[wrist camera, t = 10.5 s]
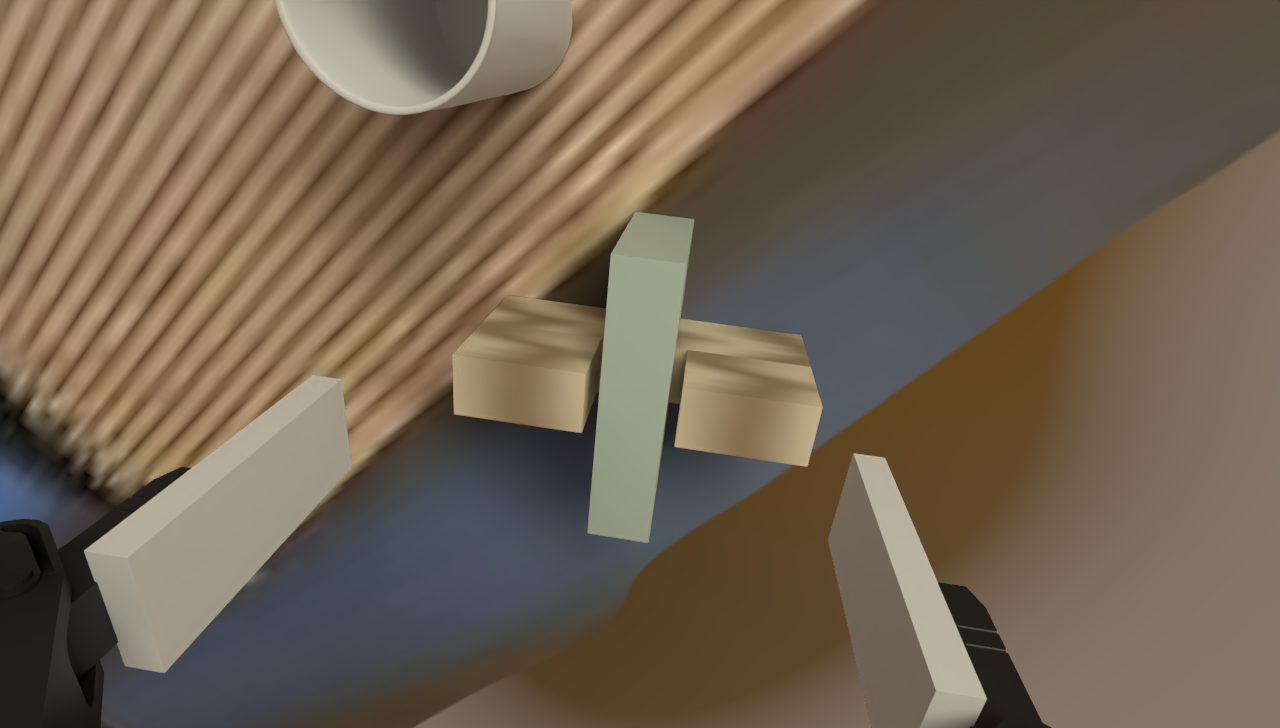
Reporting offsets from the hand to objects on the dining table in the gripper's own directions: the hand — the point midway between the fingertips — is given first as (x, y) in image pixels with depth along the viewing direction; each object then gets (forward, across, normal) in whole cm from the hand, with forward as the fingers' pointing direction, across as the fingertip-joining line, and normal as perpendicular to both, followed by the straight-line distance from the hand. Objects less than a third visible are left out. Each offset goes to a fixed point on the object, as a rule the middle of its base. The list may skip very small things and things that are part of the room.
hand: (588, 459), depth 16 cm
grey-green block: (+19, 0, -5) cm, 19 cm away
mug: (+19, -7, +12) cm, 23 cm away
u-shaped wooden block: (+19, 0, -4) cm, 19 cm away
